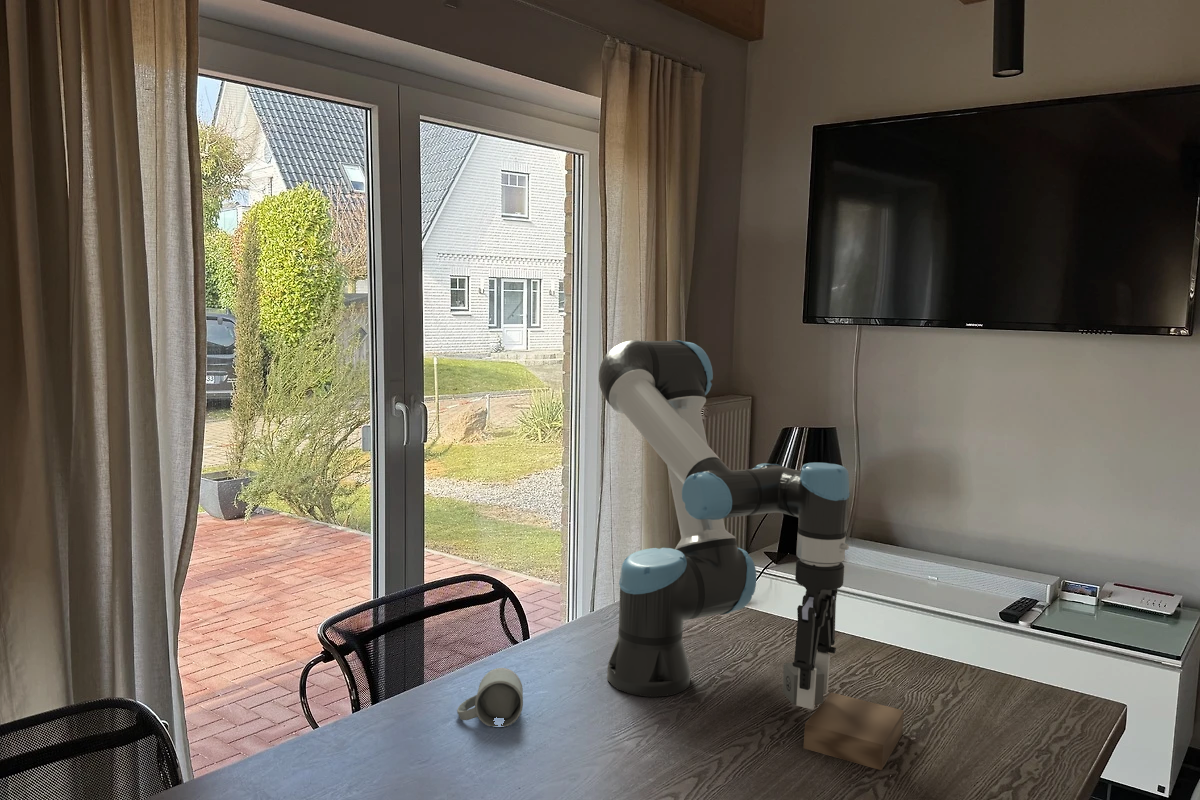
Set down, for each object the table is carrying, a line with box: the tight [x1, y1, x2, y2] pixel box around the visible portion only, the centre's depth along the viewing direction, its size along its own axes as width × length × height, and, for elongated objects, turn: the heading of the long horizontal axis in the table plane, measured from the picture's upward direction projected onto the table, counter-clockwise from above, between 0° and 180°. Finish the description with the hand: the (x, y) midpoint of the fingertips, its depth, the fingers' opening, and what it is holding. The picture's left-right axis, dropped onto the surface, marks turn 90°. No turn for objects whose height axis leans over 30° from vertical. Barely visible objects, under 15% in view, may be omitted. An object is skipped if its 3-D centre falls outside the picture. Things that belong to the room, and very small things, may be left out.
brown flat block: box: [803, 691, 905, 771], centre depth 144 cm, size 12×14×4 cm
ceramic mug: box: [456, 667, 524, 728], centre depth 148 cm, size 11×8×8 cm
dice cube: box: [782, 662, 825, 706], centre depth 148 cm, size 5×5×5 cm
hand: (812, 698), depth 147 cm, fingers closed on dice cube, 7 cm apart
